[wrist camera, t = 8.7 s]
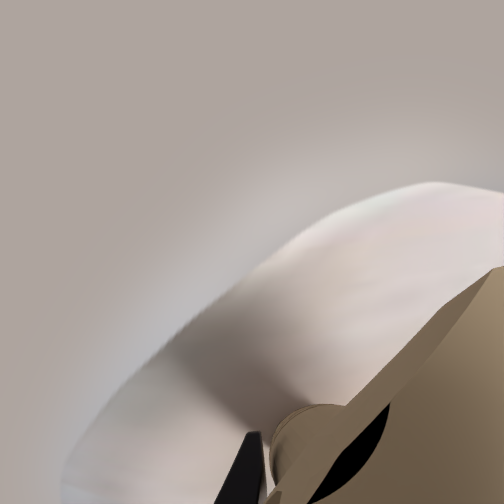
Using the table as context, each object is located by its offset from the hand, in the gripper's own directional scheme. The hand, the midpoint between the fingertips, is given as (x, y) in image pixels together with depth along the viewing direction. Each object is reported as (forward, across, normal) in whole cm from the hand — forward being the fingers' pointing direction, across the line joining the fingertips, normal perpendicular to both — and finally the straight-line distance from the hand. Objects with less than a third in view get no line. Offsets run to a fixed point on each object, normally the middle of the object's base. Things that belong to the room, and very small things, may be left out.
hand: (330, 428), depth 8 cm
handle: (+4, 0, +6) cm, 7 cm away
